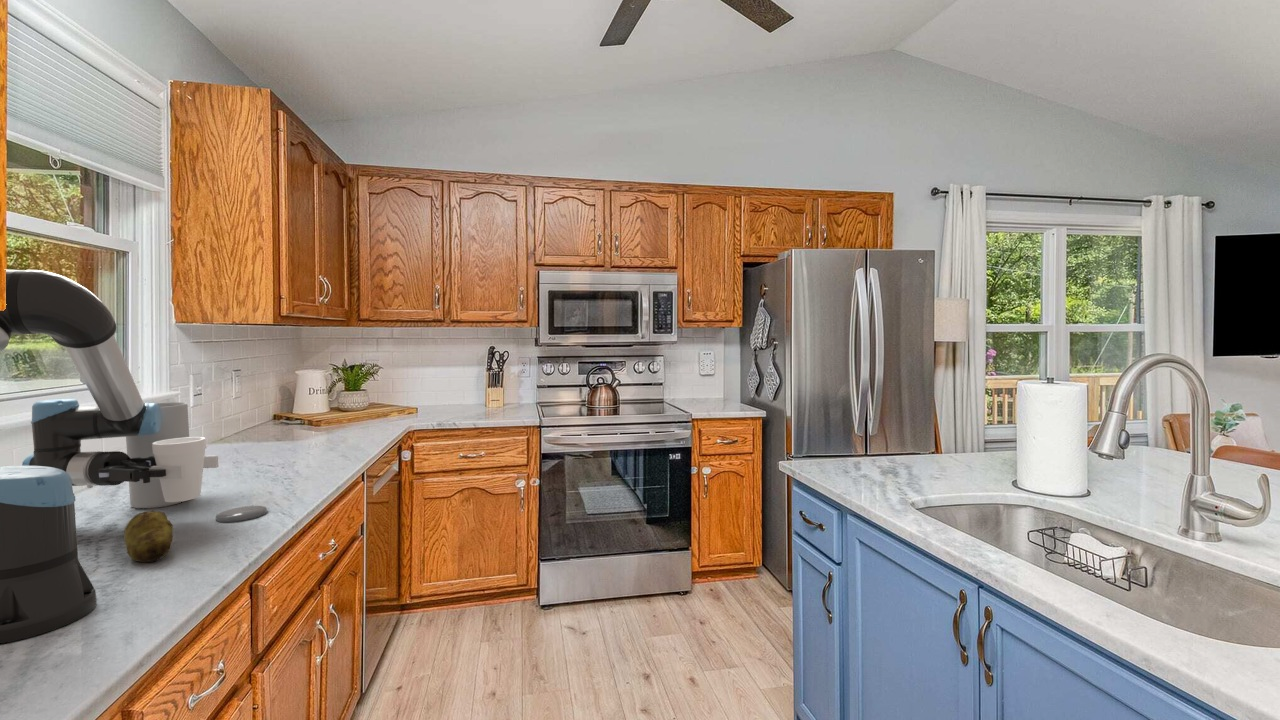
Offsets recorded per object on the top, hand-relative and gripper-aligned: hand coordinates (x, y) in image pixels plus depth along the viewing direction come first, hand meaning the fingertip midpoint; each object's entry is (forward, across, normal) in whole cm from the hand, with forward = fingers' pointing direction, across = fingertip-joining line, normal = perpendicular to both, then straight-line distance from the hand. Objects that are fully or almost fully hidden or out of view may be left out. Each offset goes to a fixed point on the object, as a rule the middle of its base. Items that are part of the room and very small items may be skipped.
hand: (200, 466), depth 132 cm
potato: (+2, +17, -14) cm, 22 cm away
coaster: (+4, -7, -13) cm, 16 cm away
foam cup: (-4, 0, -7) cm, 9 cm away
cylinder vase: (-25, -19, -13) cm, 34 cm away
